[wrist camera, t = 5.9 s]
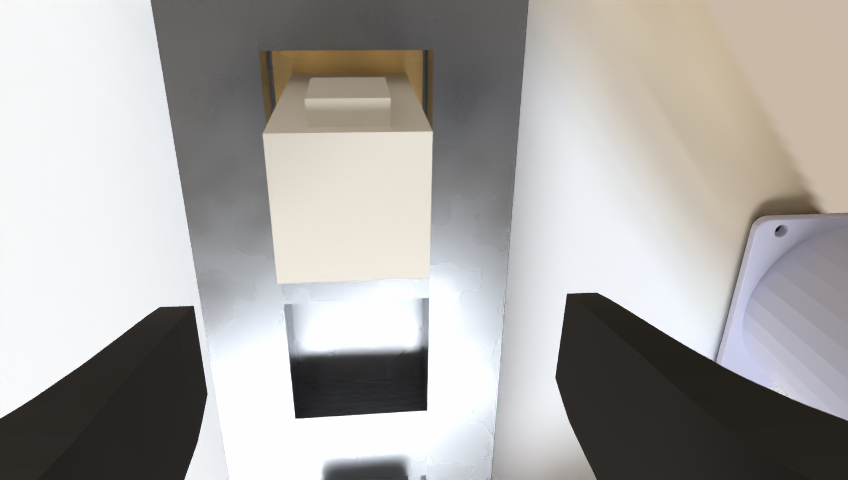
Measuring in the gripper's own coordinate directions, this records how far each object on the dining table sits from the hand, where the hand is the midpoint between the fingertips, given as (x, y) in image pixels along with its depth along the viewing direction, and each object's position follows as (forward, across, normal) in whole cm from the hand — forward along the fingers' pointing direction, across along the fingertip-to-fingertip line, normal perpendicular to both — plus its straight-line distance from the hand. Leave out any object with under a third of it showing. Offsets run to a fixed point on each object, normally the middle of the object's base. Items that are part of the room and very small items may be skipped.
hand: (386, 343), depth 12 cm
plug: (+10, +1, -2) cm, 10 cm away
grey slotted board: (+10, +1, +6) cm, 12 cm away
